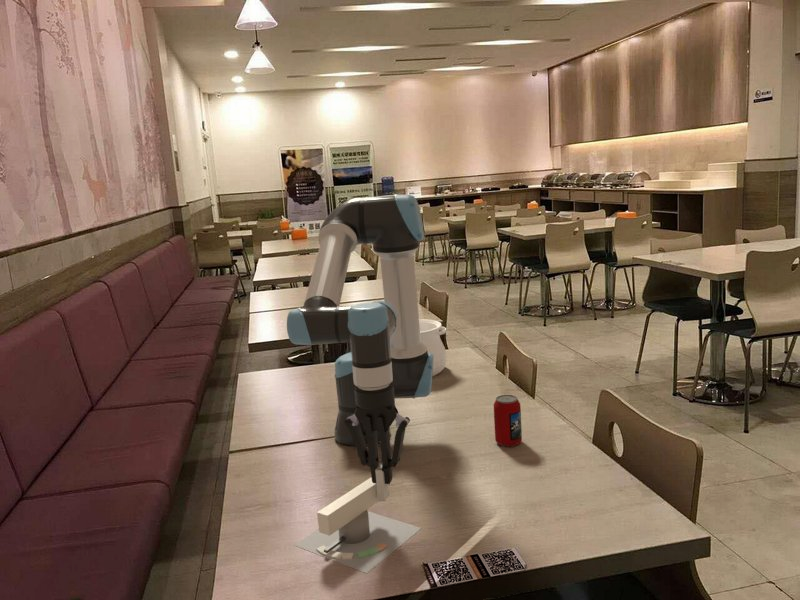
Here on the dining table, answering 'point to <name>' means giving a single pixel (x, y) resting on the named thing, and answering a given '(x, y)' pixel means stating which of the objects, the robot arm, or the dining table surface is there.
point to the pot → (433, 342)
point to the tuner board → (362, 543)
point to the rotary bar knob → (349, 515)
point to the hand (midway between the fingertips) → (383, 497)
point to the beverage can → (507, 420)
